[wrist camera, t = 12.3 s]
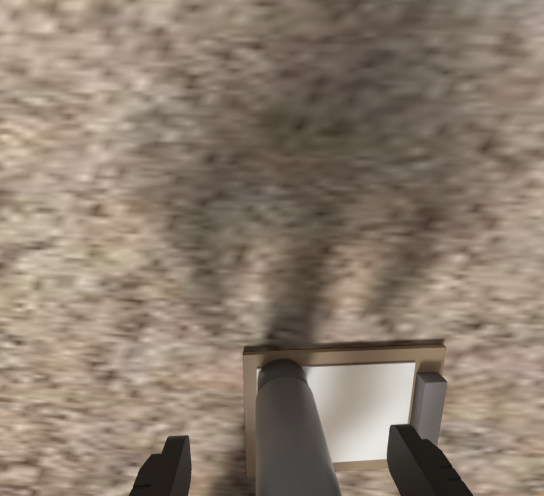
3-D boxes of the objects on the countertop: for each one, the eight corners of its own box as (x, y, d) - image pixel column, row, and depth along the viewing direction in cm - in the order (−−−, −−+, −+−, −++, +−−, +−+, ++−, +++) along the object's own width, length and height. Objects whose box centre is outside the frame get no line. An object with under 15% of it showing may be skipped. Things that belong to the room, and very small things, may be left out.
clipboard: (246, 472, 16) (245, 492, 15) (243, 351, 14) (242, 365, 13) (424, 460, 17) (436, 479, 16) (442, 344, 15) (457, 356, 14)
